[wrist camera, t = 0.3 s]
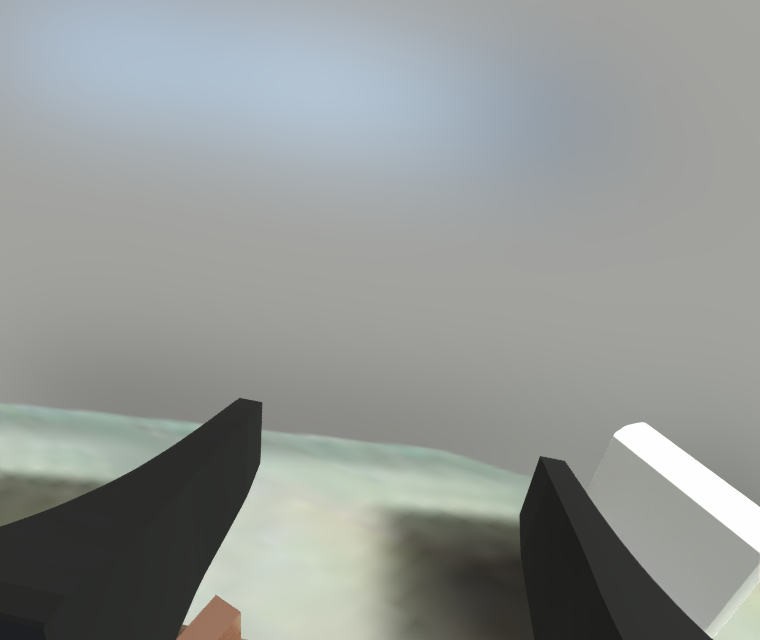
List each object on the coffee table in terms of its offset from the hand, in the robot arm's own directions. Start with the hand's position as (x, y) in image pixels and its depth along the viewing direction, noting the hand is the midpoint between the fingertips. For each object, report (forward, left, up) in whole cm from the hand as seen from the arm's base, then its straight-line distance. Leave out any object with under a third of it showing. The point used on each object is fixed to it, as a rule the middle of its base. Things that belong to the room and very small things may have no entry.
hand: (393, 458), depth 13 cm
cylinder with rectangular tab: (+12, -16, -21) cm, 29 cm away
